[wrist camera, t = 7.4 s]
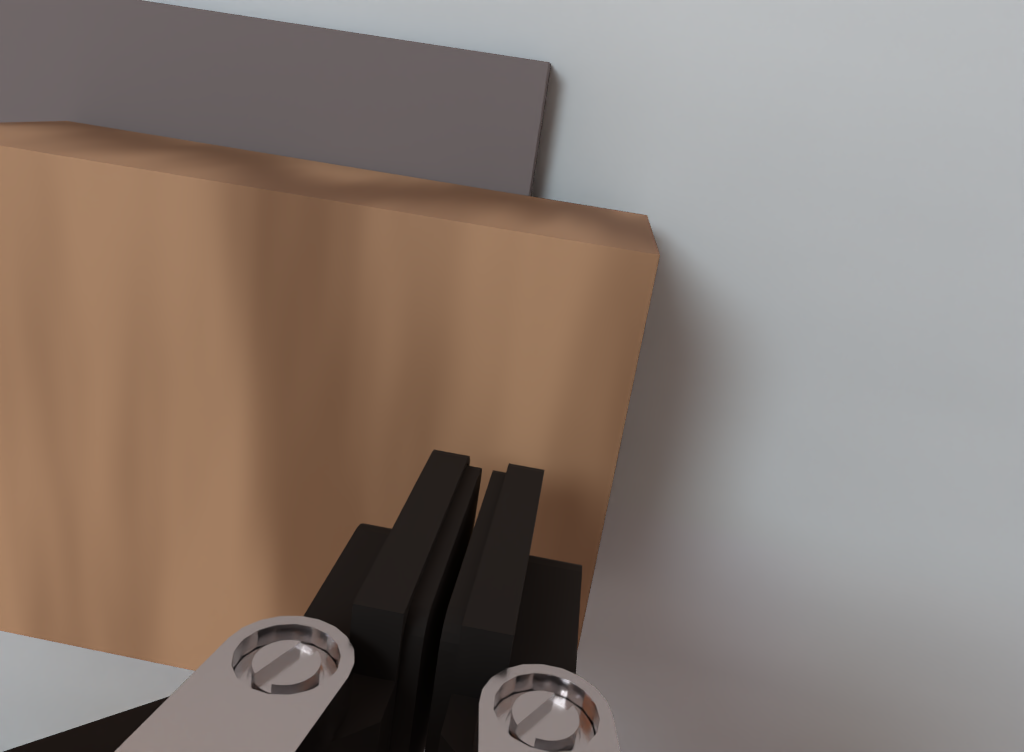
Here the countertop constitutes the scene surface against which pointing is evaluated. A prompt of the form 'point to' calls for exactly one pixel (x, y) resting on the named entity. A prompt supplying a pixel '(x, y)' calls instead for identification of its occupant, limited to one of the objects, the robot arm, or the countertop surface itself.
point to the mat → (275, 88)
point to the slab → (280, 373)
